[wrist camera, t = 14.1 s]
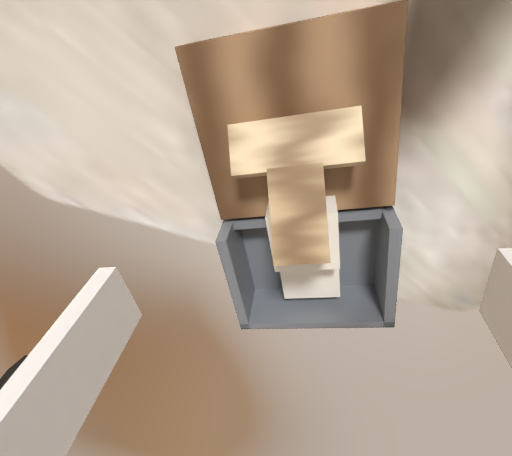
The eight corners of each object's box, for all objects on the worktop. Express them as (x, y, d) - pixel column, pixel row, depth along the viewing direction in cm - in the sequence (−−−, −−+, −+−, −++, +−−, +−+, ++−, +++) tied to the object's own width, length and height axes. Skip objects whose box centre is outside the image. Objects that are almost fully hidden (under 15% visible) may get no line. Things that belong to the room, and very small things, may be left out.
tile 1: (335, 235, 34) (338, 252, 31) (337, 277, 37) (340, 297, 34) (279, 239, 35) (277, 256, 32) (285, 280, 38) (284, 298, 35)
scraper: (363, 98, 22) (376, 260, 22) (357, 118, 26) (367, 255, 25) (222, 119, 24) (233, 268, 24) (236, 134, 28) (245, 262, 27)
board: (397, 1, 23) (408, -1, 20) (387, 189, 31) (394, 205, 28) (186, 43, 26) (174, 47, 23) (227, 204, 34) (221, 219, 31)
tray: (387, 194, 31) (402, 228, 26) (382, 285, 37) (394, 327, 32) (228, 208, 34) (215, 241, 29) (248, 290, 40) (241, 329, 36)
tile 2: (335, 195, 28) (337, 212, 26) (337, 248, 32) (340, 268, 29) (268, 201, 30) (265, 218, 27) (277, 252, 33) (274, 271, 30)
